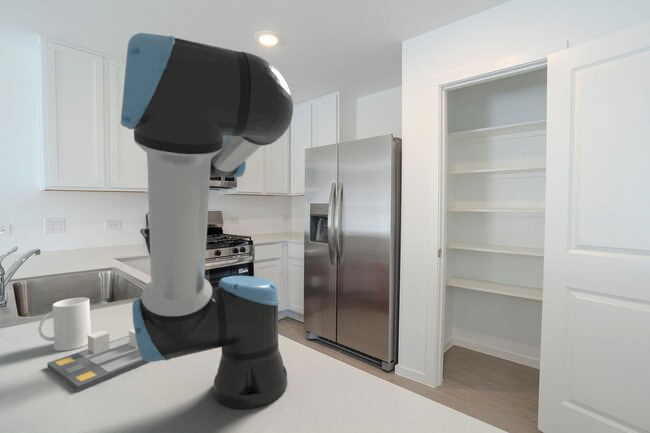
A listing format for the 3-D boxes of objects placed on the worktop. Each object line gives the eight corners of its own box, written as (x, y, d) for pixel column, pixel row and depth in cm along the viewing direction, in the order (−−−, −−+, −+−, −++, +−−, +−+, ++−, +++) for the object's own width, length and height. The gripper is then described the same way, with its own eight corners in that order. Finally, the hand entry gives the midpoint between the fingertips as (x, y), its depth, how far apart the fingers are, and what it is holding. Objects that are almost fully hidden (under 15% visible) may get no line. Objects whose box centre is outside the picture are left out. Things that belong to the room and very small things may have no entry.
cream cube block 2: (149, 343, 88) (149, 328, 88) (136, 348, 85) (135, 333, 85) (142, 340, 90) (142, 326, 90) (129, 345, 87) (128, 330, 87)
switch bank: (176, 350, 87) (176, 345, 87) (78, 391, 69) (78, 385, 69) (141, 335, 97) (141, 331, 97) (47, 367, 79) (47, 362, 79)
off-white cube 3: (109, 348, 86) (108, 333, 85) (94, 353, 83) (93, 338, 82) (103, 345, 88) (102, 330, 87) (88, 350, 85) (87, 335, 84)
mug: (45, 359, 83) (42, 312, 82) (33, 351, 88) (30, 306, 87) (98, 342, 93) (95, 300, 92) (84, 335, 97) (82, 295, 97)
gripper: (178, 201, 95) (181, 282, 96) (132, 201, 84) (136, 293, 85) (195, 200, 91) (198, 285, 92) (149, 201, 80) (153, 297, 81)
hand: (168, 289), depth 89 cm, fingers closed
